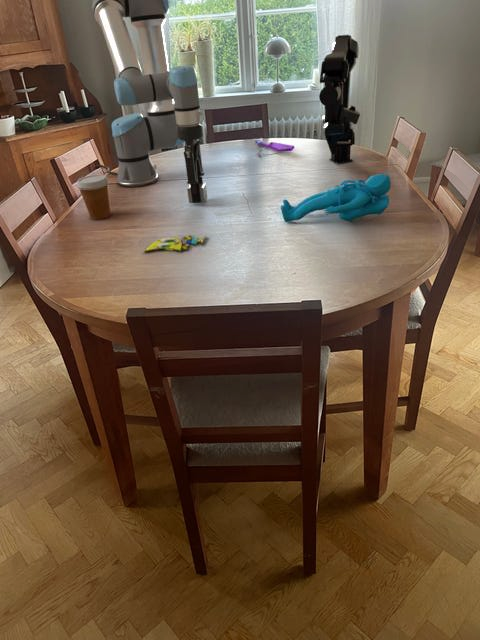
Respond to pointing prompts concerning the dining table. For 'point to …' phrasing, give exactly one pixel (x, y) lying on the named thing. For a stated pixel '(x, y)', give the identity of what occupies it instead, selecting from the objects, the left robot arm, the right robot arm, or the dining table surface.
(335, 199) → the toy
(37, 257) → the dining table surface
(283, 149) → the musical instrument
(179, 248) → the toy
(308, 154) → the dining table surface
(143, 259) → the dining table surface
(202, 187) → the block
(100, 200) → the disposable coffee cup
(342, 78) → the right robot arm
